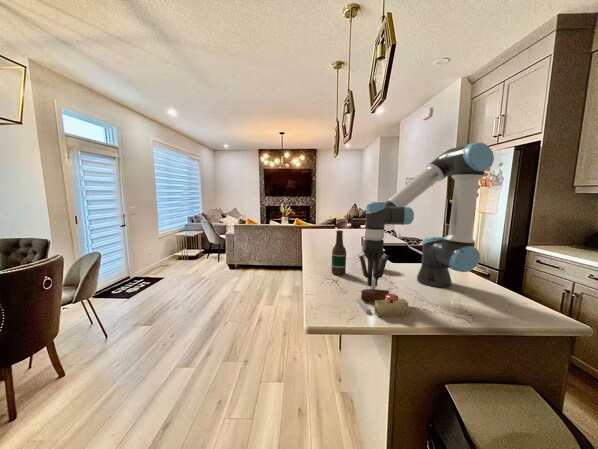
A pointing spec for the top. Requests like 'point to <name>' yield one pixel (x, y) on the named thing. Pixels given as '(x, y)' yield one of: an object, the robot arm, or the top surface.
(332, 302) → the top surface
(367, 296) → the brick
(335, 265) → the beer bottle
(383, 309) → the red dome button
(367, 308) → the rails
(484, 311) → the top surface
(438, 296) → the top surface
